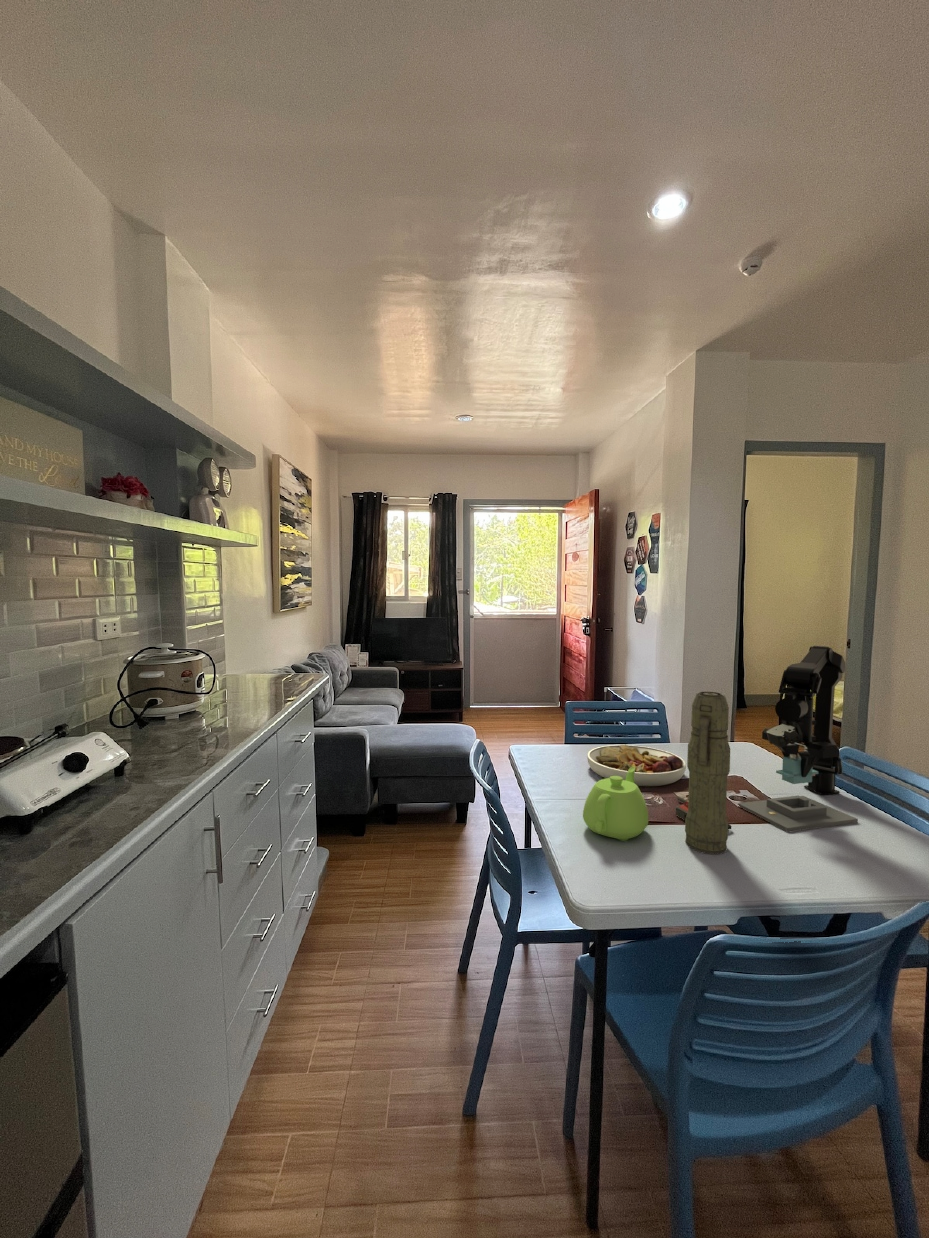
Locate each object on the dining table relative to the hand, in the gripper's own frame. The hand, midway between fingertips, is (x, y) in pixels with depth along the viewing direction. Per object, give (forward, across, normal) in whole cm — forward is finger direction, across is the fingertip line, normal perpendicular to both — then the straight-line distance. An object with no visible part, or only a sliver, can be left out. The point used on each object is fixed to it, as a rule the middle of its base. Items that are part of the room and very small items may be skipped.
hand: (797, 774), depth 143 cm
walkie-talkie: (+11, -5, -27) cm, 30 cm away
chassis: (+11, 0, 0) cm, 11 cm away
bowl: (+11, -40, -22) cm, 47 cm away
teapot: (+11, -4, -50) cm, 51 cm away
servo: (+2, 0, 0) cm, 2 cm away
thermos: (+11, +9, -35) cm, 38 cm away
